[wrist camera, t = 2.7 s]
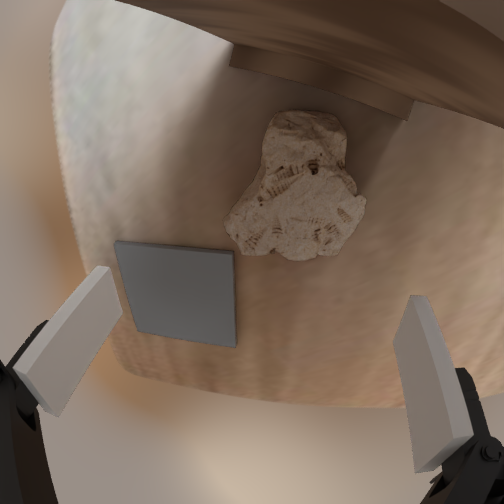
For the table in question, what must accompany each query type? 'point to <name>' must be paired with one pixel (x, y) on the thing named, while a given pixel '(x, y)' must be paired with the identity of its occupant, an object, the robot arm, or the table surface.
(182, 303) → the pad
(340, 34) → the board
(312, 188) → the stone
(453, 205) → the table surface
